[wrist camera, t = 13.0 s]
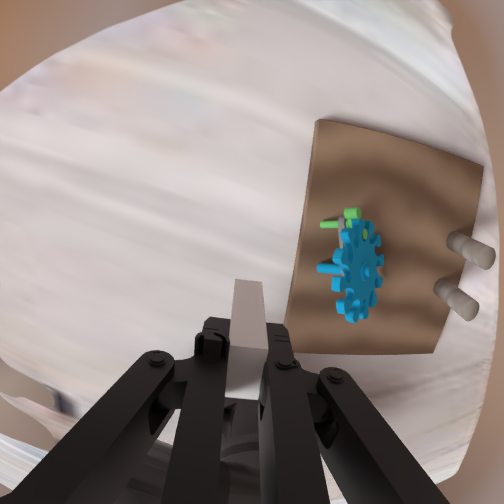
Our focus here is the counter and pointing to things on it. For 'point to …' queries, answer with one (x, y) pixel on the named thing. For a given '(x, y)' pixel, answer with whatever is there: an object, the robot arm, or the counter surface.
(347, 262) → the gear
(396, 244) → the dowel plate
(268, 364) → the robot arm
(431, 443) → the counter surface
